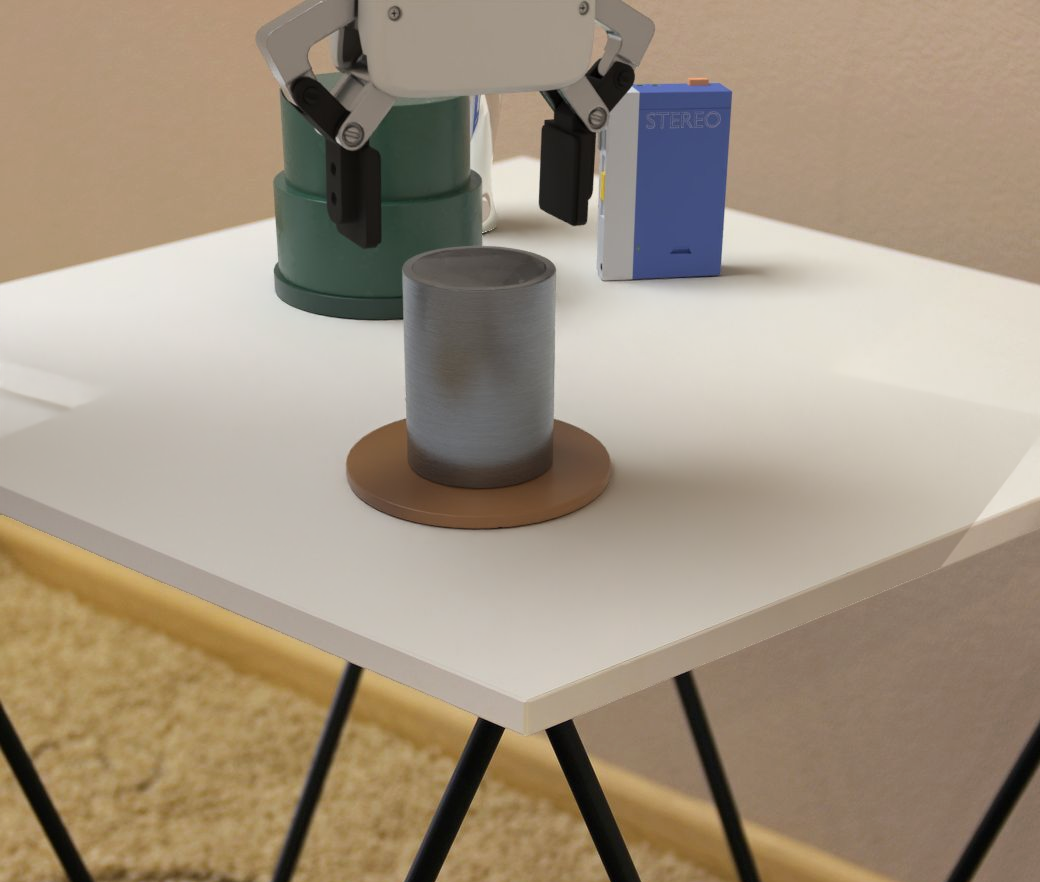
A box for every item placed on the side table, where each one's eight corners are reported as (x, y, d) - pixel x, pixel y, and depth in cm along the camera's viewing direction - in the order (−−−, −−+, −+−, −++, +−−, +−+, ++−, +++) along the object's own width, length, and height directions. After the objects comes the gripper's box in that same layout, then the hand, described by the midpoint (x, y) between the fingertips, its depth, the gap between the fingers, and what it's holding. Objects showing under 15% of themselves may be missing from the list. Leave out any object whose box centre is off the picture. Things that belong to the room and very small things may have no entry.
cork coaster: (291, 487, 67) (290, 475, 67) (443, 402, 77) (443, 391, 77) (523, 554, 62) (523, 541, 62) (655, 453, 72) (656, 442, 72)
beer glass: (448, 207, 111) (445, -8, 105) (523, 224, 108) (525, 2, 101) (383, 226, 106) (376, 1, 100) (459, 244, 102) (457, 12, 96)
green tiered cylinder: (229, 294, 92) (213, 91, 86) (360, 244, 102) (353, 60, 97) (407, 334, 86) (401, 119, 81) (526, 276, 96) (528, 83, 91)
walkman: (708, 263, 100) (719, 76, 95) (720, 276, 98) (733, 85, 92) (591, 268, 98) (596, 78, 93) (600, 280, 96) (606, 86, 91)
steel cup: (378, 467, 68) (370, 273, 64) (459, 420, 73) (457, 237, 69) (503, 501, 65) (503, 300, 61) (579, 449, 70) (583, 260, 67)
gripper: (614, -210, 64) (592, 191, 72) (215, -231, 56) (236, 225, 63) (716, -202, 59) (681, 232, 66) (289, -224, 50) (303, 276, 58)
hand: (463, 228), depth 65 cm, fingers open, 9 cm apart
